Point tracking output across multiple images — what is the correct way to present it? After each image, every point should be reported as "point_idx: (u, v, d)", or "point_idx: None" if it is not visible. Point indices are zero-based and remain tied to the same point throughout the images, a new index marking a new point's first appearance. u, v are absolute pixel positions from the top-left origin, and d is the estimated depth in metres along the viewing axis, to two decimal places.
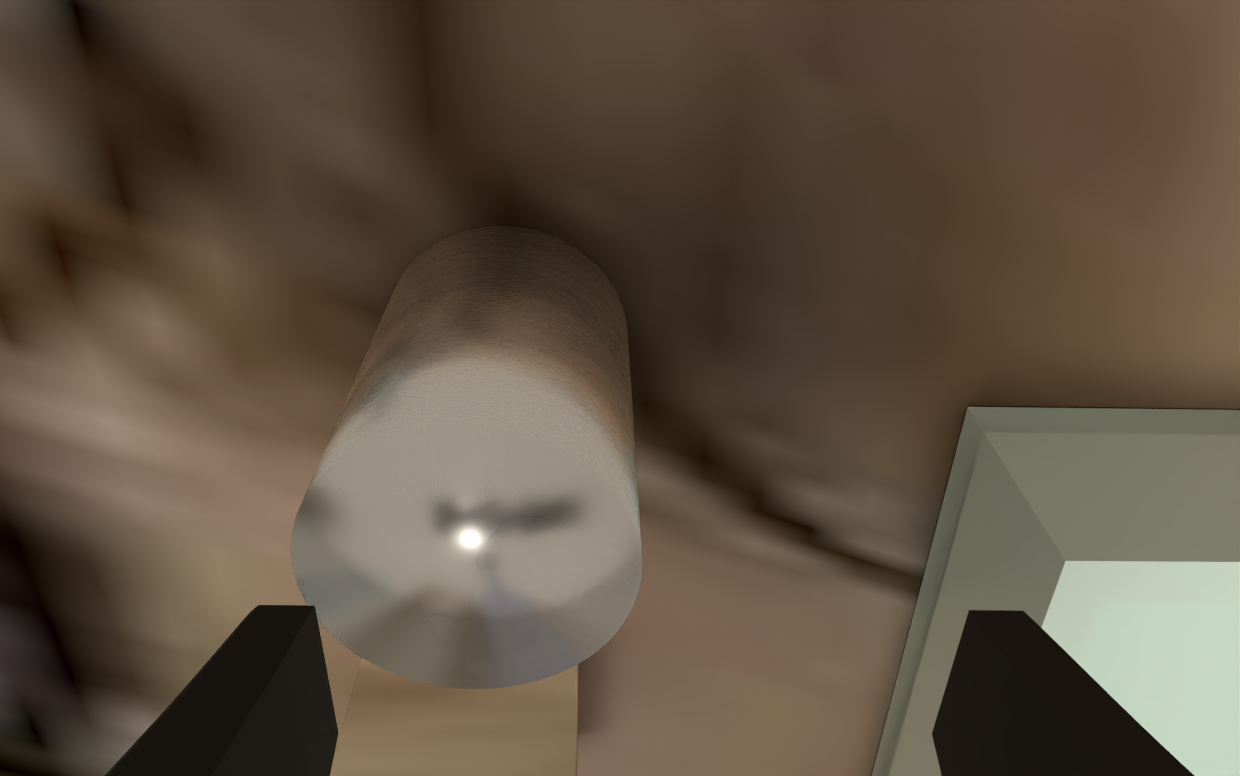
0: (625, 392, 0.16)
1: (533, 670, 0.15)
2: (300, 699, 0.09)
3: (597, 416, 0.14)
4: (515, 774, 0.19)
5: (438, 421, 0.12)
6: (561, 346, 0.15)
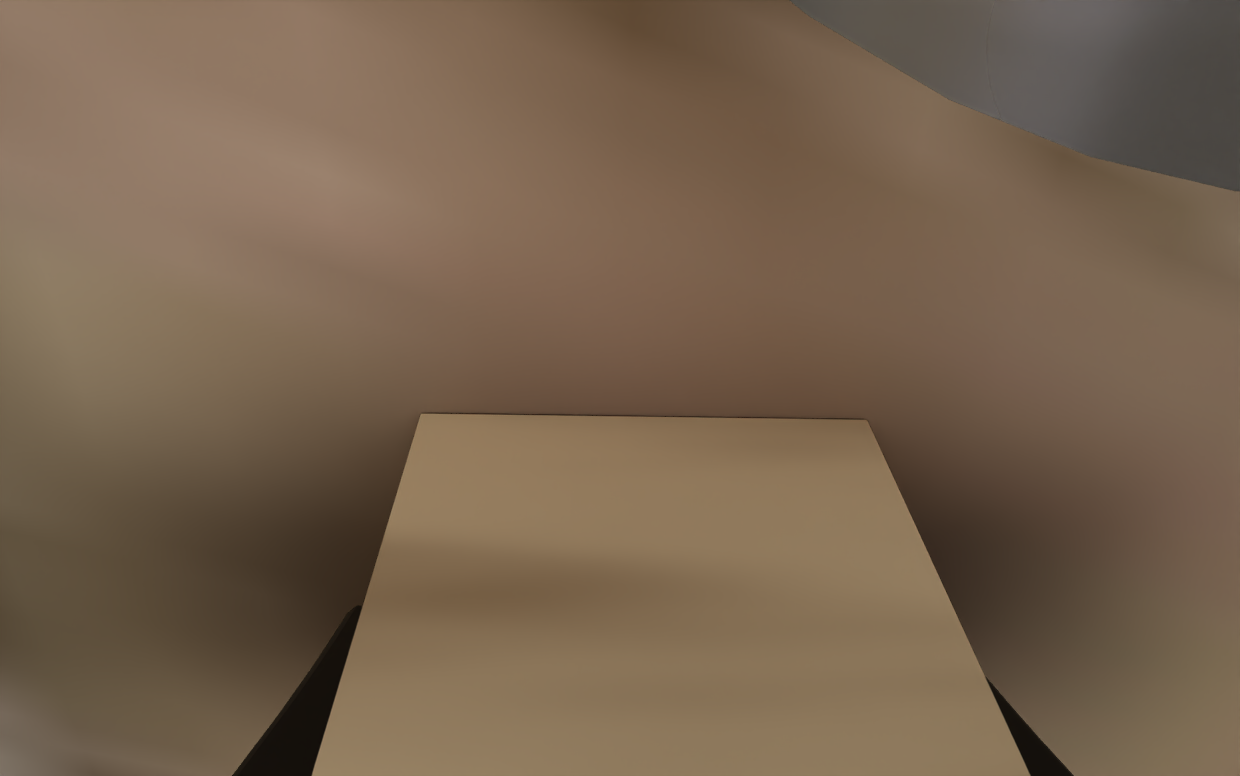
0: None
1: None
2: None
3: None
4: None
5: None
6: None
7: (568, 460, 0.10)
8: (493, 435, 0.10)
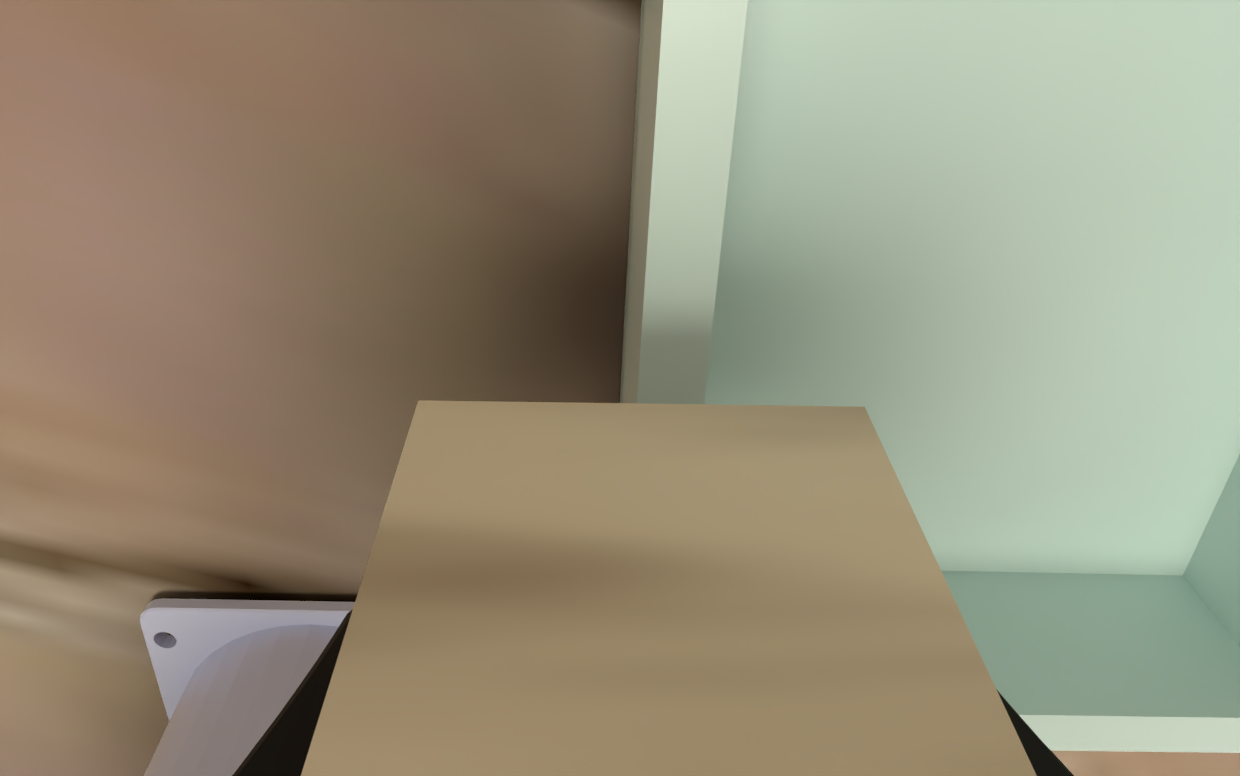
0: None
1: None
2: None
3: None
4: None
5: None
6: None
7: (565, 445, 0.10)
8: (490, 421, 0.10)
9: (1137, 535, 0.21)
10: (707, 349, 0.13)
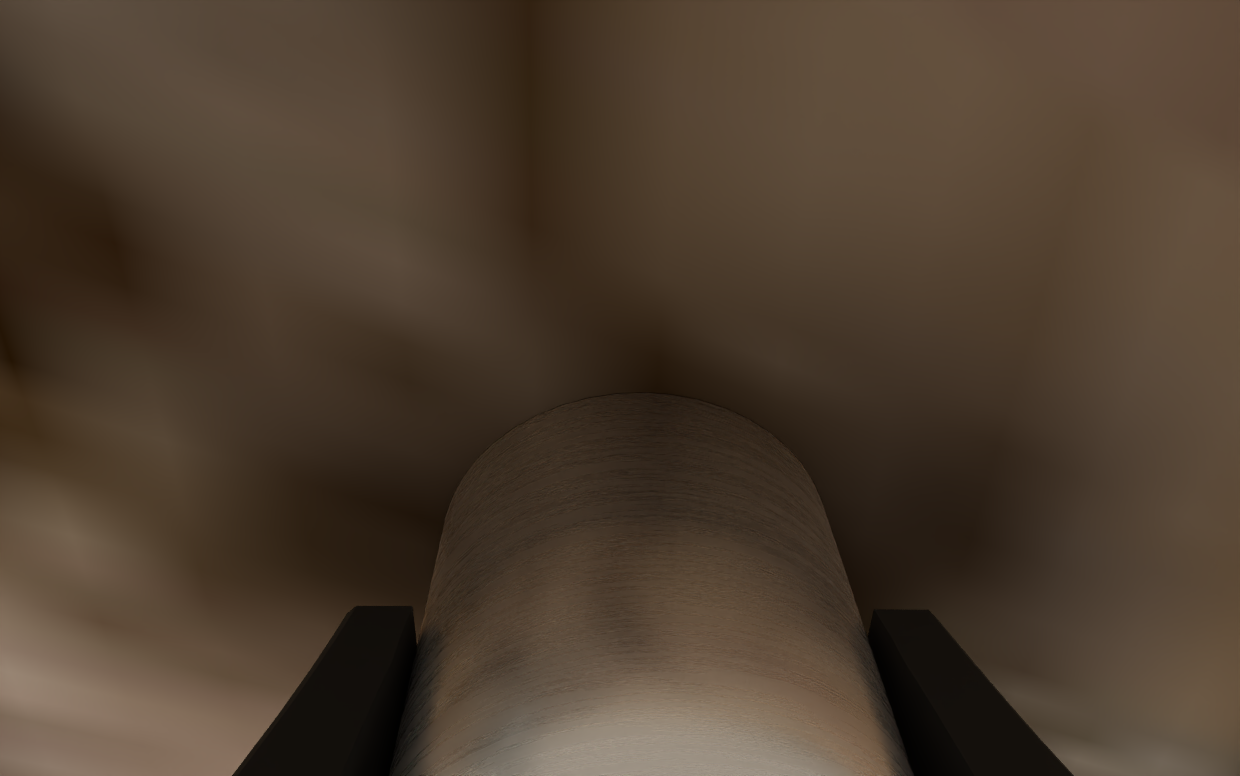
0: None
1: None
2: (402, 699, 0.09)
3: None
4: None
5: None
6: (822, 706, 0.07)
7: None
8: None
9: None
10: None
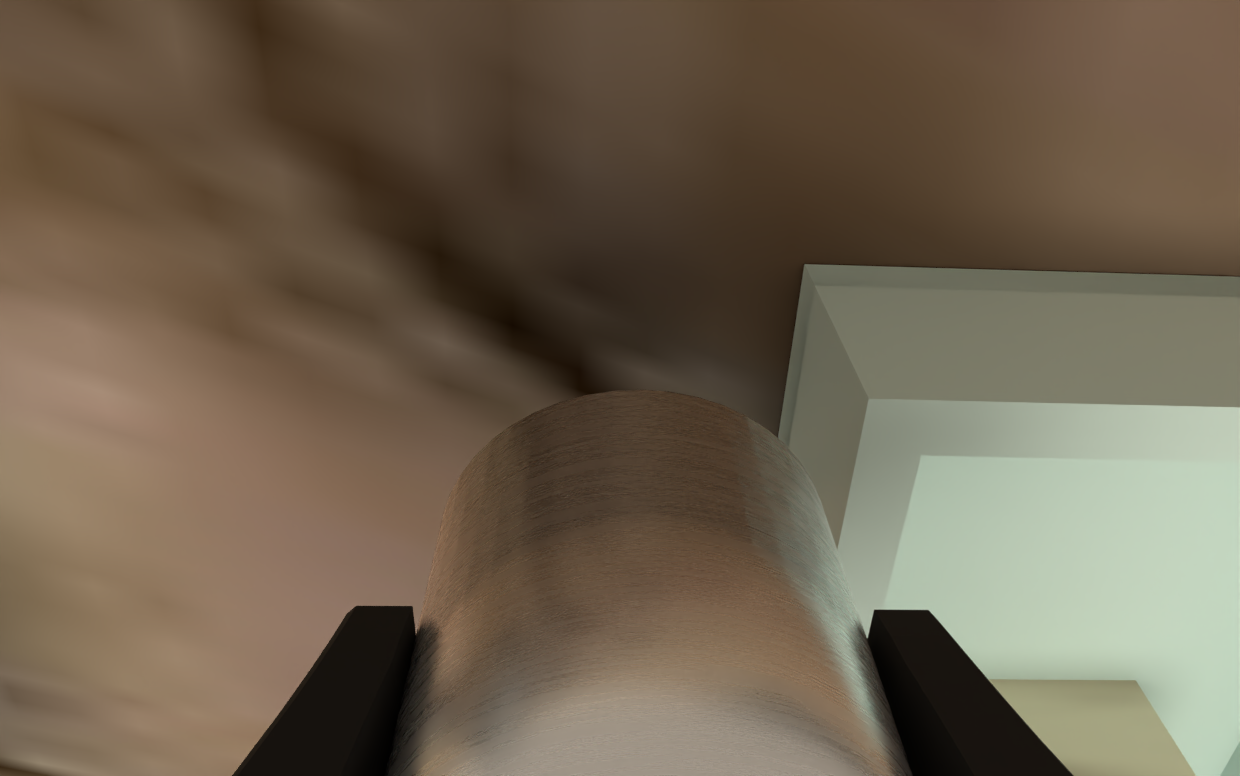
0: None
1: None
2: None
3: None
4: None
5: None
6: (819, 701, 0.07)
7: (1016, 708, 0.22)
8: None
9: None
10: None
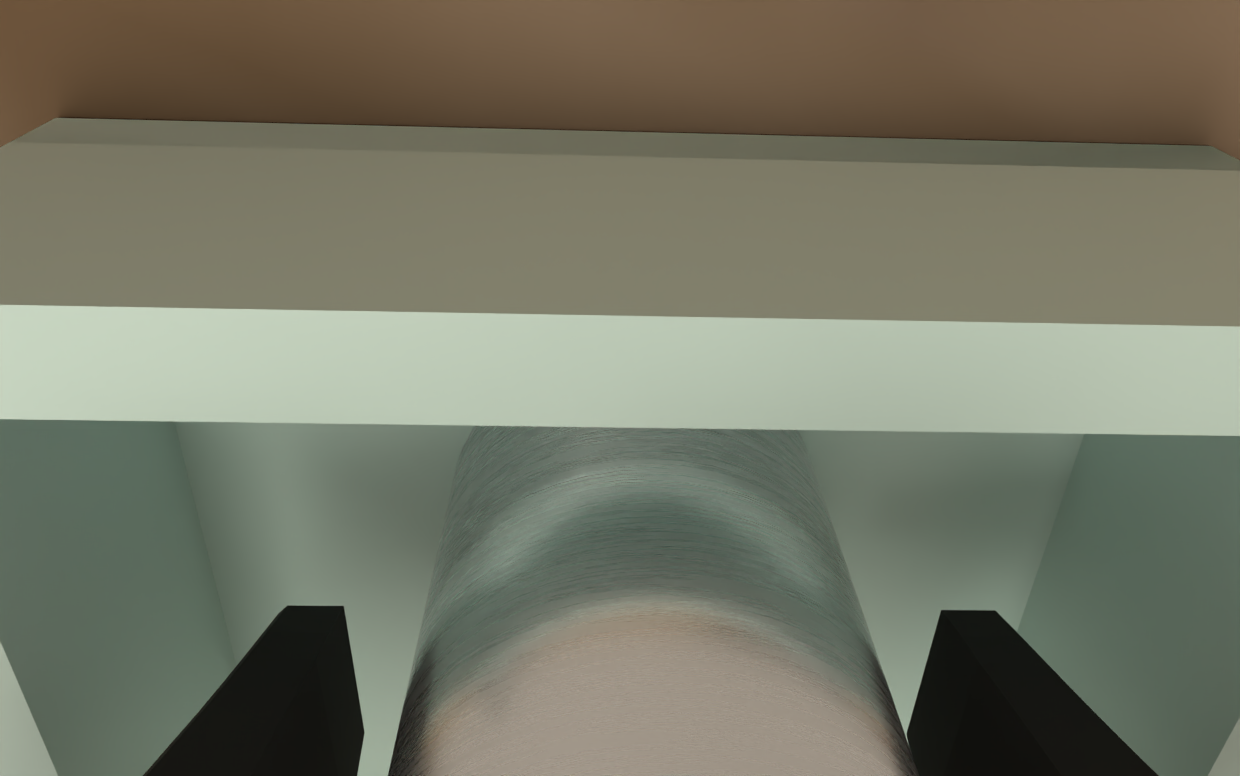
0: None
1: None
2: (331, 699, 0.09)
3: (897, 773, 0.07)
4: None
5: None
6: (802, 611, 0.08)
7: None
8: None
9: None
10: None
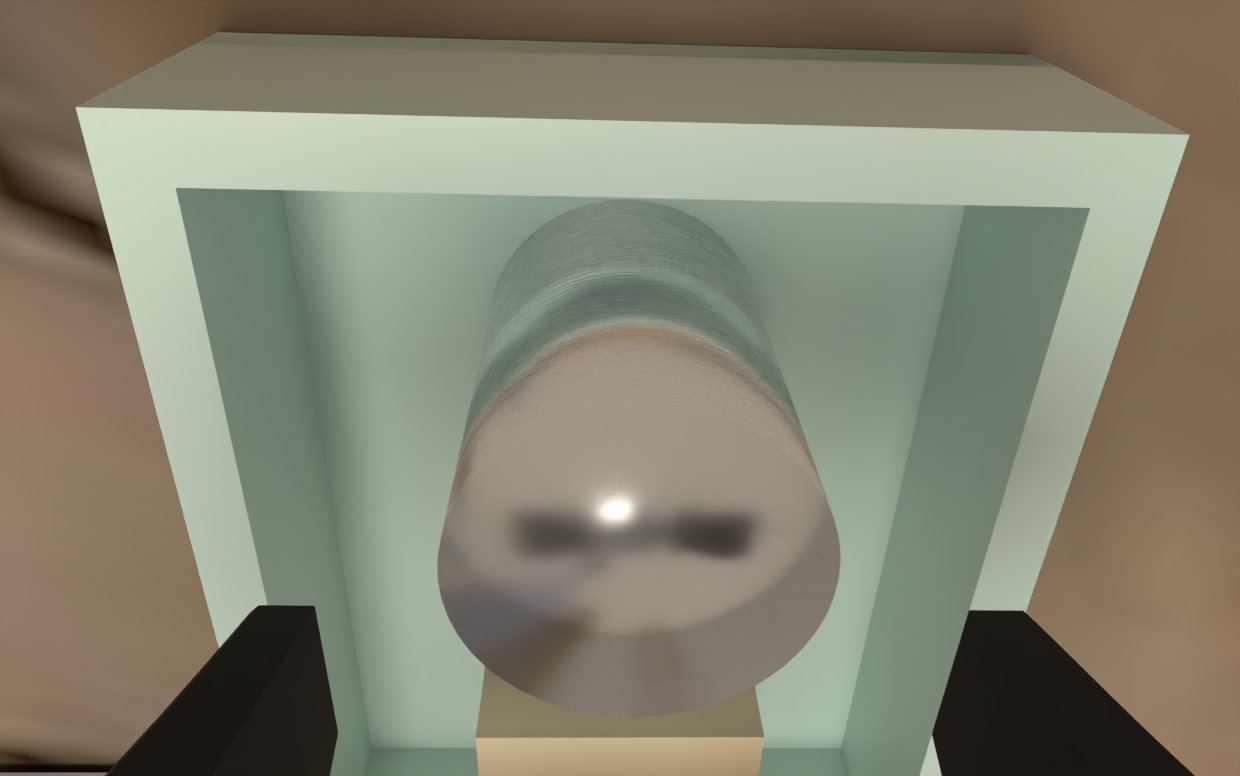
0: None
1: (700, 695, 0.13)
2: (300, 699, 0.09)
3: (780, 403, 0.12)
4: (694, 735, 0.16)
5: (623, 405, 0.10)
6: (727, 325, 0.13)
7: None
8: None
9: (790, 718, 0.23)
10: None
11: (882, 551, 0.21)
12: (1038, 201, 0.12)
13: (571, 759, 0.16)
